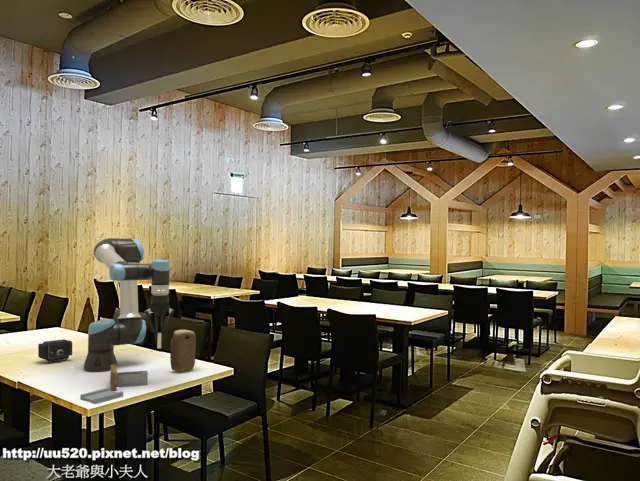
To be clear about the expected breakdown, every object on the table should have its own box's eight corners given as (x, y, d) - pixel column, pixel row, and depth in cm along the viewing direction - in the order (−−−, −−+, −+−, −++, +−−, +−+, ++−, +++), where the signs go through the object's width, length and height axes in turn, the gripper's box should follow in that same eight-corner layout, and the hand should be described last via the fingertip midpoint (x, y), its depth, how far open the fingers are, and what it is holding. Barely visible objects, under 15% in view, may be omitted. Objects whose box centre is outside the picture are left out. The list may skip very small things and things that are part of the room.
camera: (63, 360, 269) (34, 361, 257) (66, 338, 270) (37, 339, 258) (73, 363, 262) (43, 365, 250) (76, 341, 263) (46, 341, 252)
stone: (175, 374, 238) (176, 332, 239) (167, 371, 243) (168, 330, 244) (197, 370, 247) (197, 329, 247) (189, 368, 252) (190, 327, 252)
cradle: (107, 392, 208) (107, 387, 208) (123, 396, 202) (123, 391, 203) (80, 399, 198) (80, 394, 198) (95, 403, 192) (96, 399, 192)
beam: (116, 381, 224) (116, 364, 224) (116, 390, 210) (117, 372, 210) (110, 382, 223) (110, 364, 223) (110, 391, 209) (110, 372, 209)
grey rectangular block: (146, 383, 224) (147, 370, 224) (147, 385, 220) (147, 372, 220) (112, 385, 218) (113, 373, 218) (112, 388, 214) (113, 375, 214)
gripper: (145, 295, 218) (144, 350, 218) (176, 294, 223) (175, 348, 223) (144, 294, 225) (143, 347, 224) (174, 293, 230) (173, 345, 229)
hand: (159, 347), depth 223 cm, fingers closed
